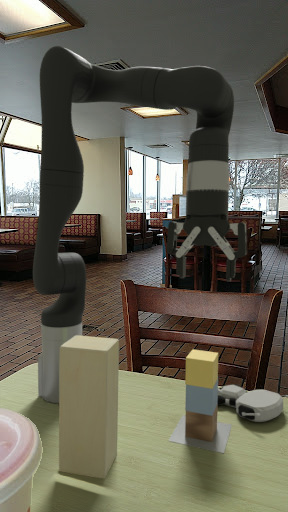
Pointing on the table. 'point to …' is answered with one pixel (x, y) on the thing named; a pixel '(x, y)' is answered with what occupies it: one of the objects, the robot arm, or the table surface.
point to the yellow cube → (202, 368)
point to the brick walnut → (201, 425)
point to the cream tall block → (88, 405)
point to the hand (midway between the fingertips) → (205, 279)
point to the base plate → (215, 445)
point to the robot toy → (251, 402)
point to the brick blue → (201, 399)
